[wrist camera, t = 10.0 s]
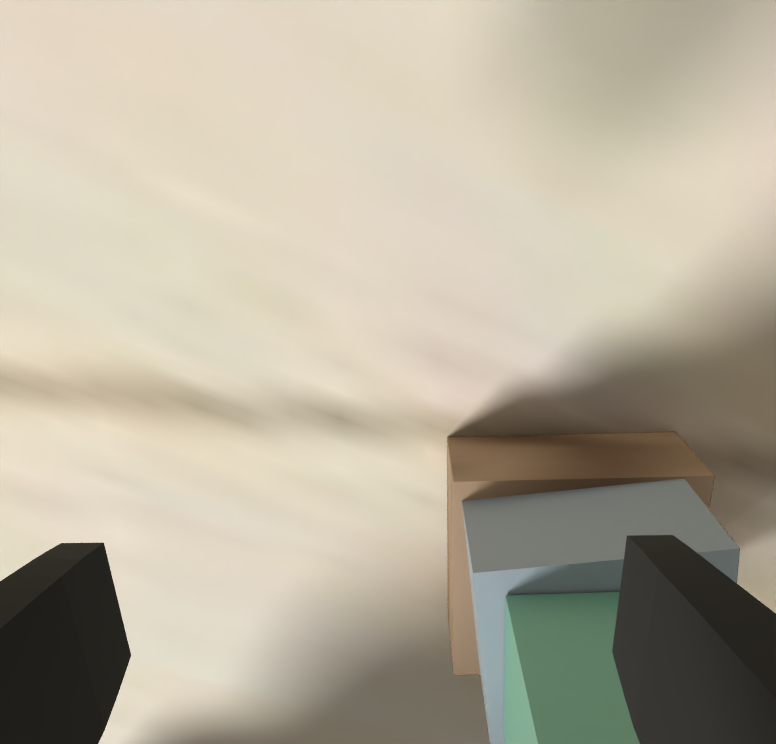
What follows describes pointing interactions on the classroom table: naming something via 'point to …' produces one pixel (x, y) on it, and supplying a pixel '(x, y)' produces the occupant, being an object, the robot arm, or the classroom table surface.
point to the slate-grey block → (570, 553)
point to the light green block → (563, 671)
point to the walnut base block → (546, 474)
